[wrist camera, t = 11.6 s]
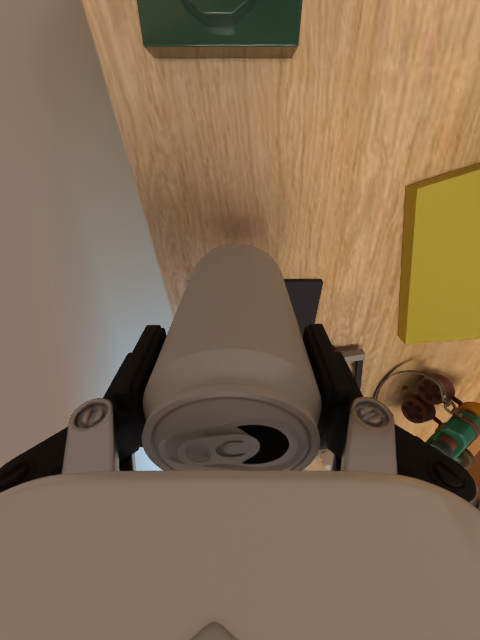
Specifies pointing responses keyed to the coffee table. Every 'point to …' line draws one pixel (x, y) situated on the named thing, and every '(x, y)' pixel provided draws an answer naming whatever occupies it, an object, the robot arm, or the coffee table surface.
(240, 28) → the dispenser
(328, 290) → the coffee table surface
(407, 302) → the flat olive board
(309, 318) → the coaster
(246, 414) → the beverage can
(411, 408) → the binoculars
